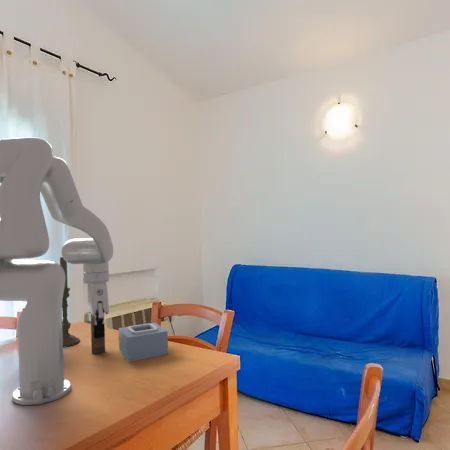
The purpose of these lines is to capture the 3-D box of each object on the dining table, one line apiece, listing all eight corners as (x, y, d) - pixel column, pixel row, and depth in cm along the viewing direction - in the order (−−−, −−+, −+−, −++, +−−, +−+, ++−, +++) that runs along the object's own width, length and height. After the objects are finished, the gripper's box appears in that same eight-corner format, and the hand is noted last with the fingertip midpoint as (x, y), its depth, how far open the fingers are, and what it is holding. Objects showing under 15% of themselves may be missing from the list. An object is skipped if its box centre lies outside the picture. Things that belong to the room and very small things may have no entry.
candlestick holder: (52, 340, 133) (50, 254, 133) (80, 337, 136) (78, 253, 136) (49, 348, 125) (46, 256, 125) (79, 345, 127) (76, 255, 127)
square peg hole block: (168, 354, 116) (167, 329, 116) (128, 361, 111) (127, 335, 111) (155, 343, 127) (155, 320, 127) (119, 350, 121) (118, 326, 121)
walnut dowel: (106, 352, 119) (105, 307, 119) (92, 355, 117) (91, 309, 117) (103, 349, 123) (102, 305, 123) (90, 351, 121) (89, 307, 121)
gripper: (114, 279, 114) (116, 340, 114) (103, 273, 129) (105, 327, 129) (87, 281, 111) (89, 344, 111) (80, 275, 126) (81, 331, 126)
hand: (98, 335), depth 120 cm, fingers closed on walnut dowel, 4 cm apart
